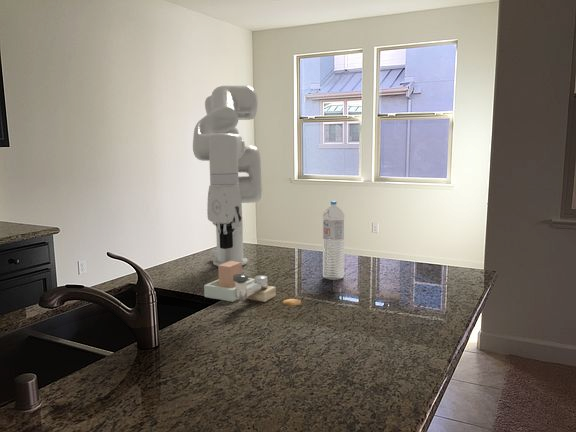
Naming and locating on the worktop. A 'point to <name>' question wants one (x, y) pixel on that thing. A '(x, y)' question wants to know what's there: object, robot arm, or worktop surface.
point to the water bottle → (333, 243)
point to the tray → (222, 291)
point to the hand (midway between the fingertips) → (226, 247)
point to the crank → (247, 290)
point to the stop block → (228, 273)
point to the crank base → (271, 296)
